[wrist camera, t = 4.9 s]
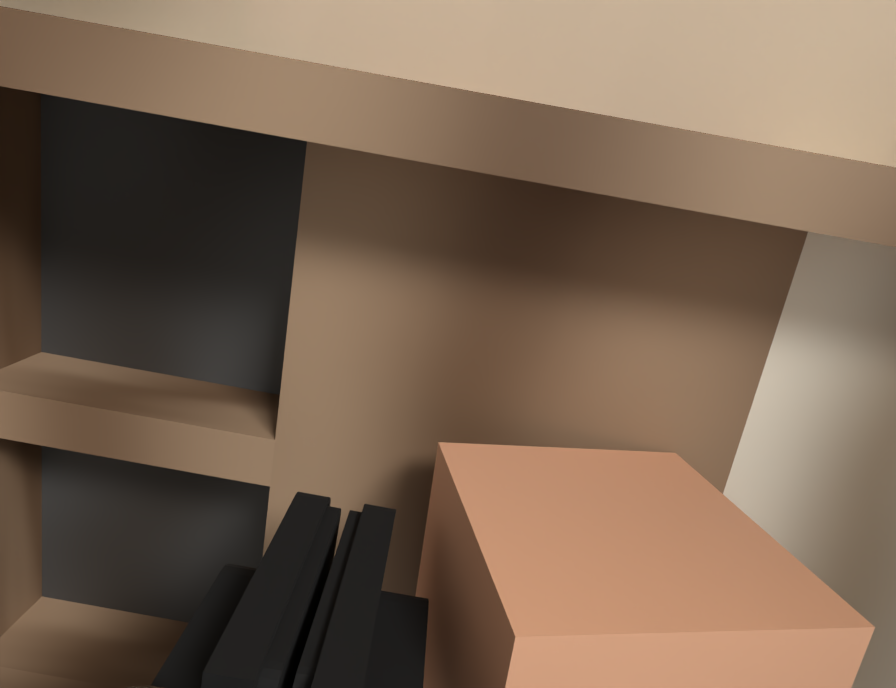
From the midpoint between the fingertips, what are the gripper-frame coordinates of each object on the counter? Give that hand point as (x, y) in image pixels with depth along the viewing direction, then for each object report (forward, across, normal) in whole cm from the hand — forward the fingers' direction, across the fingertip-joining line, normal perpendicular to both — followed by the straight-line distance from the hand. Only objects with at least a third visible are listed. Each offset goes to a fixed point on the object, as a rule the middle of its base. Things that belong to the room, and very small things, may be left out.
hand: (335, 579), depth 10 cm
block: (+2, -4, 0) cm, 4 cm away
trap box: (+4, -2, -1) cm, 5 cm away
